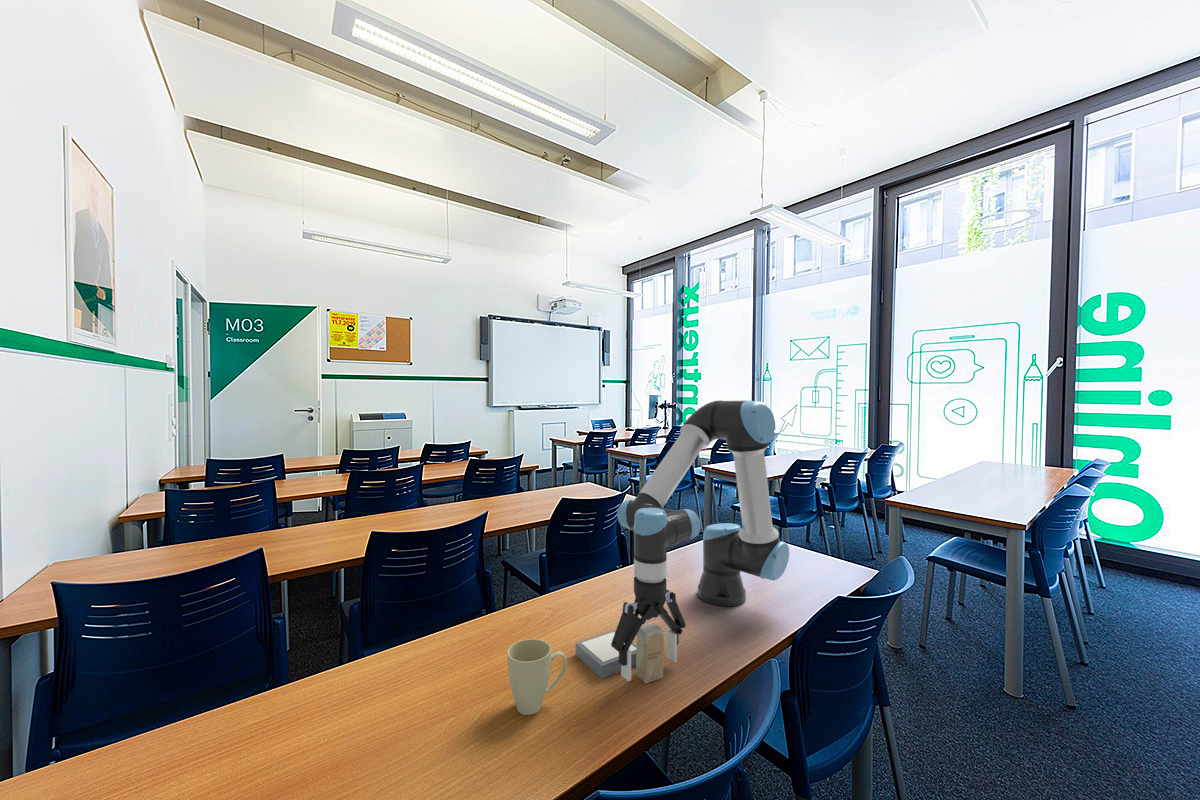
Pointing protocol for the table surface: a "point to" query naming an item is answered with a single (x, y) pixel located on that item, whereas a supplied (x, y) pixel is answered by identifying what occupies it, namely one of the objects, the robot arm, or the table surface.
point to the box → (650, 652)
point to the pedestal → (602, 654)
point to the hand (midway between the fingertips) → (649, 668)
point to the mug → (531, 673)
